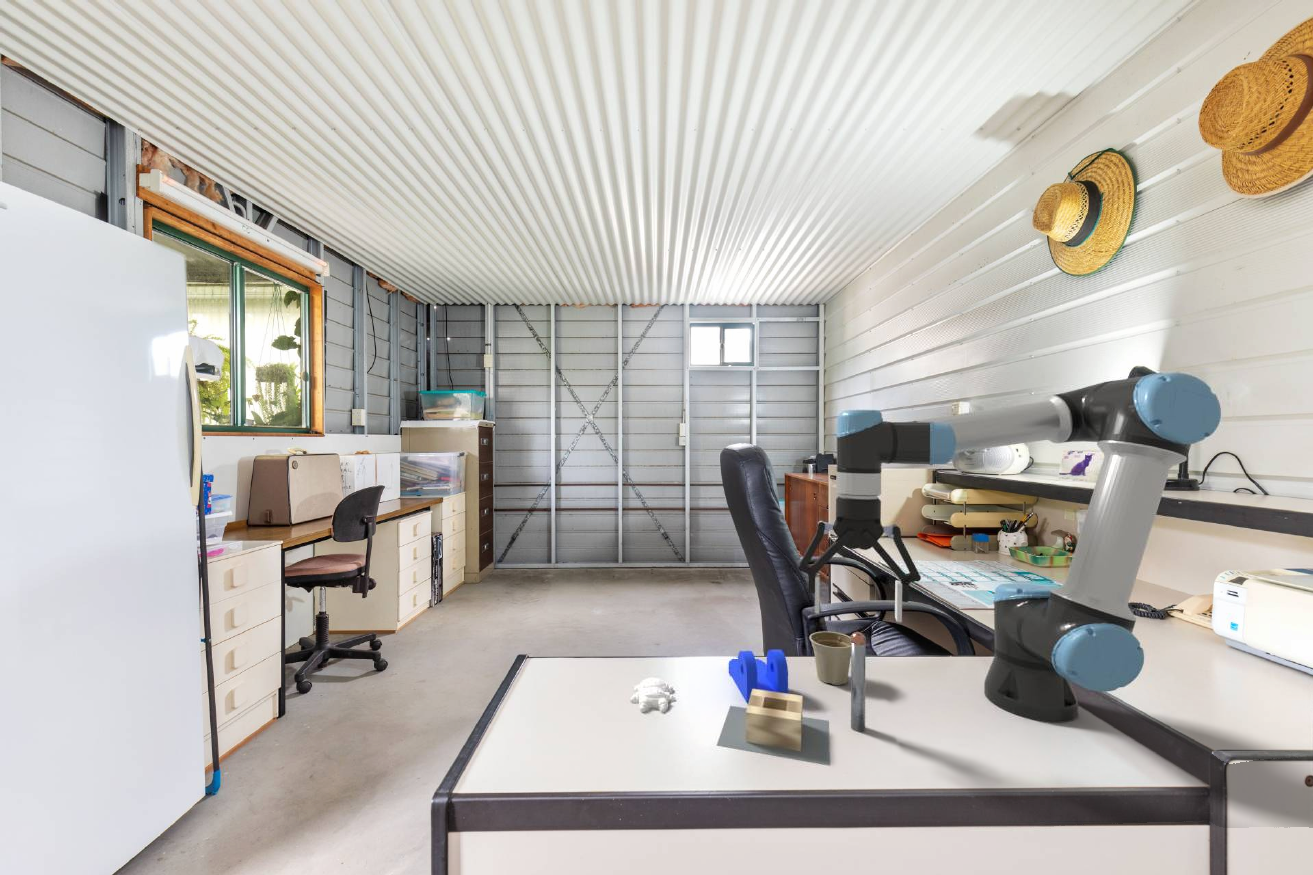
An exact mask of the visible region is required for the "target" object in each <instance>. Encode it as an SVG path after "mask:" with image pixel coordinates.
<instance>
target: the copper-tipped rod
mask: <svg viewBox="0 0 1313 875" xmlns="http://www.w3.org/2000/svg"><path fill="white" fill-rule="evenodd" d="M850 637H851V658H850V728H851V730H853V731H854V732H857V733H863V732H865V731H866V643H867V639H866V635H864V634H863V633H862V632H860V631H855V632H853V633H852V634H851V635H850Z"/></svg>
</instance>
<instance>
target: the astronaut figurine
mask: <svg viewBox="0 0 1313 875" xmlns="http://www.w3.org/2000/svg"><path fill="white" fill-rule="evenodd" d="M633 688H634V689H633V690H634V694H633V695H631V698H630V703H631V704H635V703H638V706H639V711H640V712H641V713H647V711H648V710H650V709H658V711H659V713H661V714H666V713H667V712H668V709H669V708H668V707H669V703H668V702H672V703H673V702H675V701H676V697H675V696H674V695H673V694H672V693H673V692H674V687H673V686H672V685H669V684H668V682H666V681H665V680H663V679H661V678H657V677H649V678H645V679H644V680H642V681H641V682H639V684H636V685H635V686H634V687H633ZM670 693H671V694H670Z"/></svg>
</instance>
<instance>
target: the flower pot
mask: <svg viewBox="0 0 1313 875" xmlns="http://www.w3.org/2000/svg"><path fill="white" fill-rule="evenodd" d="M809 640H810V642H811V646H812V648H813V653H814V659H815V660H814V661H815V668H816V676H817V678H818V680H819V681H820V682H822V683H825V684H832V685H833V686H841V685H845V684H846V683H848V682H847V681H849V680H848V679H849V673H850V672H849V670H850V666H851V636H849V635H847V634H844V633H841V632H835V631H817V632H813V633H811V634H810V635H809Z"/></svg>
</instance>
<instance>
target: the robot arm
mask: <svg viewBox="0 0 1313 875" xmlns="http://www.w3.org/2000/svg"><path fill="white" fill-rule="evenodd" d="M1221 416H1222V408H1221V403H1220V401H1219V399H1218V396H1217V395H1216V393H1213V391H1212V389H1211V386H1210V385H1208V384H1207V383H1206V382H1204V381H1203V380H1202V379H1200V378H1198V377H1196V376H1194V375H1191V374H1187V373H1184V372H1183V373H1182V372H1167V373H1162V372H1158V373H1157V372H1155V373H1150V374H1147V375H1143V376H1136V377H1130V378H1124V379H1118V380H1117V379H1116V380H1109V381H1104V382H1100V383H1095V384H1093V385H1089V386H1084V387H1082V388H1078V389H1075V390H1071V391H1067V392H1061V393H1058V394H1051V395H1050V394H1049V395H1046V396H1044V397H1043V398H1042V399H1041V400H1040V401H1037V402H1032V403H1031V402H1030V403H1025V404H1017V405H1012V406H1011V405H1010V406H1005V407H997V408H991V409H985V410H978V411H971V412H970V411H969V412H964V413H958V414H957V413H956V414H951V415H945V416H944V415H943V416H938V417H932V418H931V417H930V418H925V419H924V418H923V419H917V420H912V421H894V422H893V421H892V422H891V421H887V420H884V418H883V414H882V411H880V410H877V409H848V410H843V411H841V412H840V413H839V414H838V416H837V425H836V426H837V427H836V435H835V437H836V472H835V473H836V475H835V477H836V479H835V480H836V482H835V484H836V485H835V486H836V487H835V492H836V493H837V494H838V495H839V496H837V497H836V498H835V520H834V523H831V522H825V521H824V520H822V519H821V520H819V521H817V529H816V533H815V535H814V536H813V538H812V539H811V540H812V541H811V542H810V544H809V546H808V547H807V549H806V551H805V552H804V555H803V556H802V558H801V559H800V562H799V564H798V571H800V572H803V573H805V574H807V576H808V592H809V594H814V614H817V615H818V614H820V581H821V580H820V579H821V576H820V575H821V574H820V573H819V571H820V570H822V568H823V567H824V566H825V565H826V564H827V563H828V562H829V561H830V560H831V559H832V558H833V557H834V556H835V555H836V554H837V553H838V552H840V550H841V549H842V548H843V547H846V548H848V549H849V550H856V549H860V550H863V551H867V550H870V549H871V548H872V549H874V551H875V552H876V554H878V555H879V556H880V558H881V559H882V560H883V562H885V563H886V564H887V566H888V567H889V568H890V570H892V572H893V573H894V575H895V576H897V578H898V579H899V580H898V579H897V580H895V584H894V588H895V589H894V591H895V592H894V617H895V621H896V622H897V623H902V622H903V603H908V602H909V601H910V584H911V583H914V582H920V581H921V579H922V576H921V574H920V573H919V571H918V569H917V566H916V565H915V562H914V561H913V559H912V557H911V556H910V553H909V551H908V549H907V548H906V545H905V543H904V542H903V539H902V532H901V528H900V526H899V525H898V524H895V523H894V524H892V525H889V526H887V525H885V526H883V525H882V520H881V519H882V517H881V516H882V515H881V514H882V501H881V499H880V498H878V497H879V496H881V495H882V465H883V464H886V465H890V464H897V465H899V464H900V465H929V466H933V465H947V464H948V463H950V462H951V461H952V460H953V459H954V457H955V454H956V453H963V452H970V451H977V450H983V449H984V450H985V449H991V448H997V447H1006V446H1011V445H1013V446H1014V445H1020V444H1026V443H1033V442H1034V443H1035V442H1042V441H1049V442H1051V443H1053V444H1065V443H1072V442H1076V443H1079V442H1088V443H1089V442H1090V443H1091V442H1092V443H1096V446H1097V447H1098V448H1099V449H1100V451H1101V452H1102V453H1103V461H1102V464H1101V466H1100V469H1099V473H1098V476H1097V480H1096V482H1095V485H1094V487H1093V488H1094V489H1093V493H1092V495H1091V498H1090V501H1089V505H1088V507H1087V511H1086V514H1085V517H1084V521H1083V524H1082V527H1081V530H1080V534H1079V536H1078V541H1077V542H1076V546H1075V549H1074V552H1073V556H1072V559H1071V562H1070V564H1069V569H1068V572H1067V575H1066V577H1065V578H1066V579H1065V581H1064V584H1063V585H1061V586H1057V587H1055V586H1050V585H1048V586H1047V585H1041V584H1028V583H1002V584H999V585H997V586H996V587H995V589H994V595H993V596H994V597H993V605H994V606H993V607H994V608H993V610H994V611H993V612H994V614H993V620H994V622H993V623H994V624H993V625H994V627H993V629H994V630H993V631H994V635H993V636H994V657H993V659H992V662H991V664H990V666H989V670H988V672H987V675H986V677H985V679H984V685H983V686H984V688H983V689H984V693H983V694H984V695H985V698H987V699H988V700H989V702H991V703H992V704H994V705H996V706H997V707H999V708H1001V709H1003V710H1005V711H1006V712H1009V713H1012V714H1016V715H1018V716H1022V717H1024V718H1029V719H1032V720H1038V721H1045V722H1051V723H1053V722H1054V723H1065V722H1071V721H1073V720H1075V719H1077V718H1078V716H1079V702H1078V699H1077V696H1076V693H1075V690H1074V688H1073V685H1072V683H1074V684H1076V685H1077V686H1080V687H1081V688H1084V689H1086V690H1090V691H1093V692H1114V691H1116V690H1117V689H1120V688H1125V687H1126V686H1129V685H1130V684H1132V682H1133V681H1135V680H1136V679H1137V678H1138V677H1139V674H1140V673H1141V671H1142V670H1143V666H1144V663H1145V652H1144V648H1142V647H1141V643H1140V641H1139V639H1138V638H1137V637H1136V636H1135V635H1134V634H1133V632H1134V628H1135V626H1136V621H1137V617H1136V616H1135V614H1134V613H1133V612H1132V611H1131V609H1130V608H1129V605H1128V604H1129V601H1130V599H1131V595H1132V592H1133V589H1134V585H1135V582H1136V579H1137V576H1138V573H1139V569H1140V566H1141V563H1142V560H1143V556H1144V555H1145V554H1144V553H1145V551H1146V547H1147V545H1148V541H1149V538H1150V535H1151V531H1152V528H1153V525H1154V522H1155V519H1156V515H1157V513H1158V509H1159V505H1160V502H1161V500H1162V496H1163V493H1164V490H1165V487H1166V484H1167V480H1168V476H1169V474H1170V470H1171V469H1172V468H1173V467H1175V466H1177V465H1179V464H1181V463H1183V462H1184V463H1185V462H1186V461H1187V458H1188V455H1189V452H1190V450H1191V448H1192V447H1191V446H1192V445H1194V444H1196V443H1198V442H1201V441H1203V440H1205V439H1206V438H1209V437H1211V435H1213V434H1214V433H1215V431H1216V430H1217V428H1218V427H1219V425H1220V422H1221ZM830 531H833V532H834V534H835V535H836V537H837V538H836V539H835V540H834V541H833V543H832V544H831V545H830V546H829V547H828V548H827V549H826V550H825V551H824V552H823V553H822V554H821V555H820V557H818V559H816V560H815V562H813V564H812V565H809V563H810V562H811V560H812V558H813V556H814V554H815V553H816V551H817V549H818V547H819V546H820V543H821V542H822V540H823V538H824V535H828V534H829V532H830ZM884 534H886V535H887V537H888V538H889V539H892V541H893V543H894V545H895V547H896V550H897V551H898V553H899V554H900V557H901V558H902V560H903V562H904V565H905V566H906V568H907V570H908V572H909V573H905V572H904V571H903V569H901V567H900V566H899V565H898V564H897V562H896V561H895V560H894V559H893V558H892V557H891V555H890V554H889V553H888V551H886V549H885V548H884V547H883V546H882V545H881V543H880V542H879V539H880V538H881V537H883V535H884Z"/></svg>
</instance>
